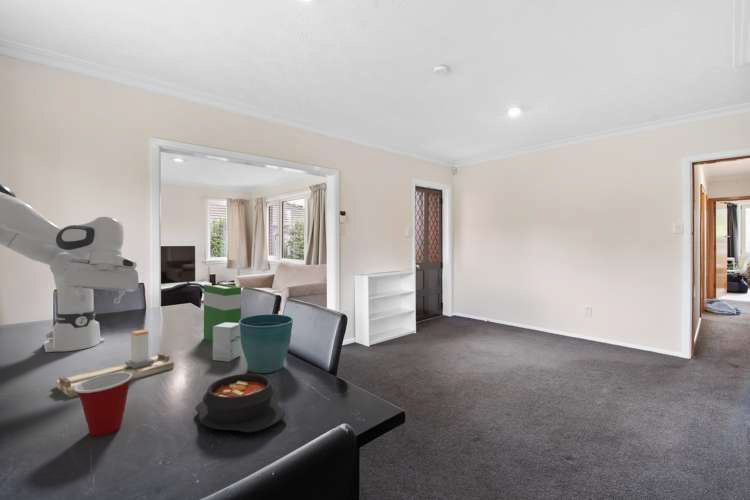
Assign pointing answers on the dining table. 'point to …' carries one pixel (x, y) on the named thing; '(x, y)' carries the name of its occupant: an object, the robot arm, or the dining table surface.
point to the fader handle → (139, 350)
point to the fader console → (159, 365)
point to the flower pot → (265, 341)
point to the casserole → (240, 404)
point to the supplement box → (226, 341)
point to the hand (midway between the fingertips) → (99, 302)
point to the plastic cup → (104, 401)
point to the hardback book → (220, 306)
